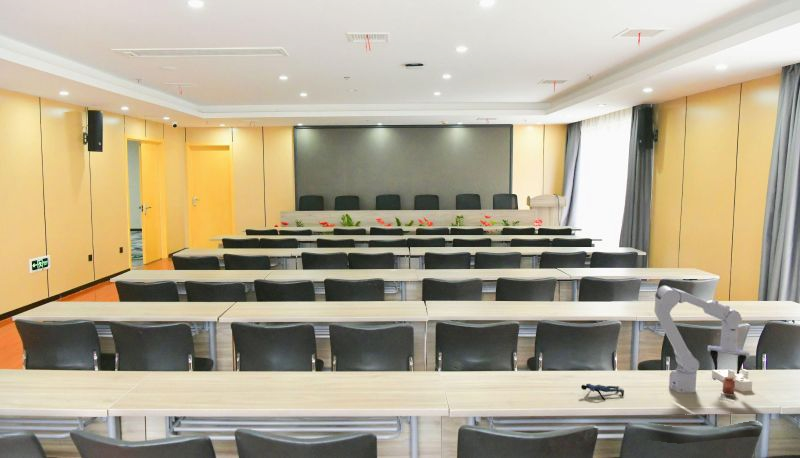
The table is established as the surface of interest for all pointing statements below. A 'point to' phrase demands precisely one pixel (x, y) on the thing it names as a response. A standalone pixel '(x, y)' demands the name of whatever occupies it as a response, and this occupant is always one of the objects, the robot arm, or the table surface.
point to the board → (727, 398)
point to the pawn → (728, 385)
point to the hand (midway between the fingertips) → (726, 371)
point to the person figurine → (603, 389)
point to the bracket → (728, 374)
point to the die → (742, 384)
